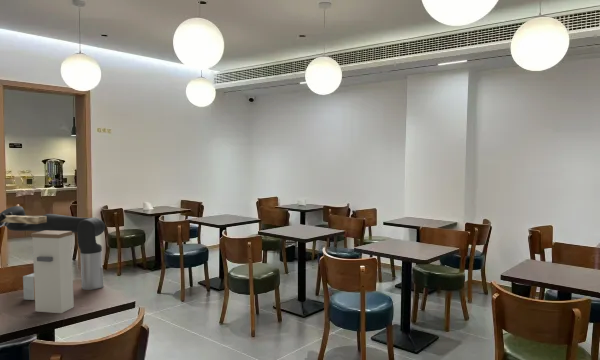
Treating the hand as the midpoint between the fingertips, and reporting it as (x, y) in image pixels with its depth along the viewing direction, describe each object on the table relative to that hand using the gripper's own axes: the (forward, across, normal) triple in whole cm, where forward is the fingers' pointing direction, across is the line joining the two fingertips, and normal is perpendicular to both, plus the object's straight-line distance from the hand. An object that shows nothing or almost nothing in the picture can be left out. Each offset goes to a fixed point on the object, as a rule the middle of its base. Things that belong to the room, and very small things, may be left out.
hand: (8, 214), depth 179 cm
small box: (-19, +12, +34) cm, 41 cm away
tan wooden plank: (+3, 0, +5) cm, 6 cm away
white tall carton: (-2, 0, +44) cm, 44 cm away
